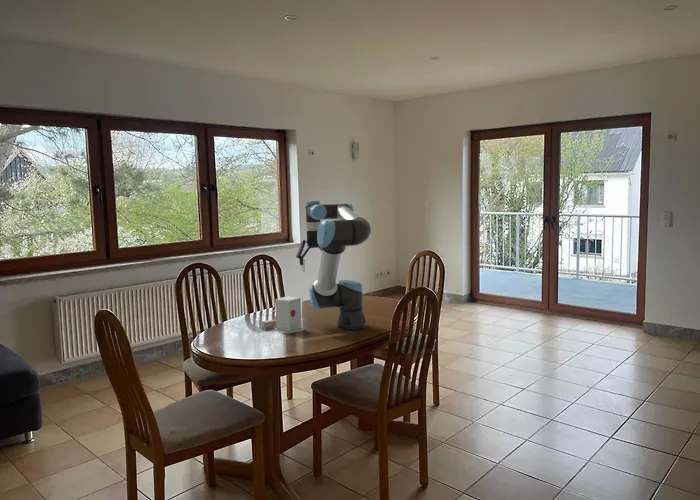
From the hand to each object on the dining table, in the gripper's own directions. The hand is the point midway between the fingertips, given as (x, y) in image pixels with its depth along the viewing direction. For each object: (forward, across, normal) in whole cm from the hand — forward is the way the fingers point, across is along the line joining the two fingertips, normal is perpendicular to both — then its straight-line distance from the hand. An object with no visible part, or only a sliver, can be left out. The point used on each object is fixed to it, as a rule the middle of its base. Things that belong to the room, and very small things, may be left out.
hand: (314, 270), depth 287 cm
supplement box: (+25, +23, +17) cm, 38 cm away
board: (+27, +27, +9) cm, 39 cm away
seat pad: (+25, +23, +17) cm, 38 cm away
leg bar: (+25, +26, +8) cm, 37 cm away
